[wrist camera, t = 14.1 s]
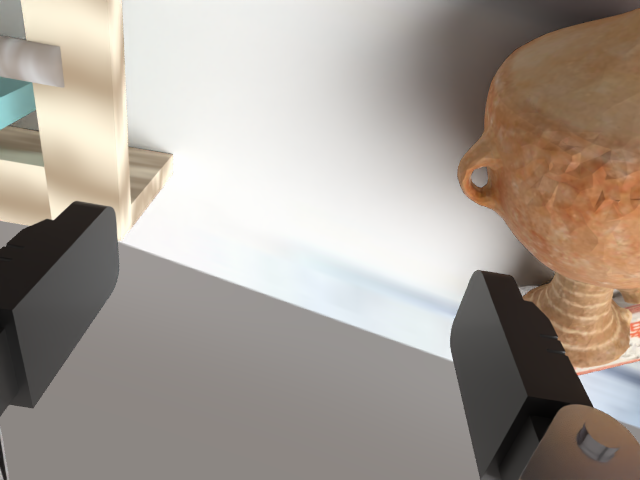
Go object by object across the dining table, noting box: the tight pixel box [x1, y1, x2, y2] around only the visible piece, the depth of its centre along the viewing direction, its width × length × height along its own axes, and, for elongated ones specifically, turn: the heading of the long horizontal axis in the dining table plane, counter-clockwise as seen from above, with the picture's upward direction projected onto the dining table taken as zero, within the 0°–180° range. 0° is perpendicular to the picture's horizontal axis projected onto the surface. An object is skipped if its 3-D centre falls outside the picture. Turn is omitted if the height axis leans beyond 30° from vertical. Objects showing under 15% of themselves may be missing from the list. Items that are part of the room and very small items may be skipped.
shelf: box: [0, 0, 173, 241], centre depth 35 cm, size 24×20×13 cm
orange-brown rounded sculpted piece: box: [457, 8, 640, 368], centre depth 37 cm, size 20×19×30 cm
